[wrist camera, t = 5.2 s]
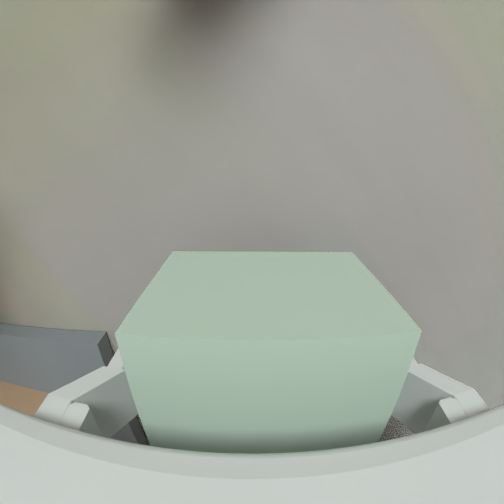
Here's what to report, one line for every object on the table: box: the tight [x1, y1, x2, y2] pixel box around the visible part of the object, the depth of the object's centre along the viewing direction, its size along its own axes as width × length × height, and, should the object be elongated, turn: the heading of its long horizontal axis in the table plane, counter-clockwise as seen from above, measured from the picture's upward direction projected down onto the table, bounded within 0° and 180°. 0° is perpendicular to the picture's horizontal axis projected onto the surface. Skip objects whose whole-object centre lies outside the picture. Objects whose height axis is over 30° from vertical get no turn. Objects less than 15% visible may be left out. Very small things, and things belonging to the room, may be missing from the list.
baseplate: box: [0, 323, 149, 445], centre depth 14 cm, size 18×18×5 cm
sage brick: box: [115, 251, 421, 454], centre depth 9 cm, size 6×6×5 cm
